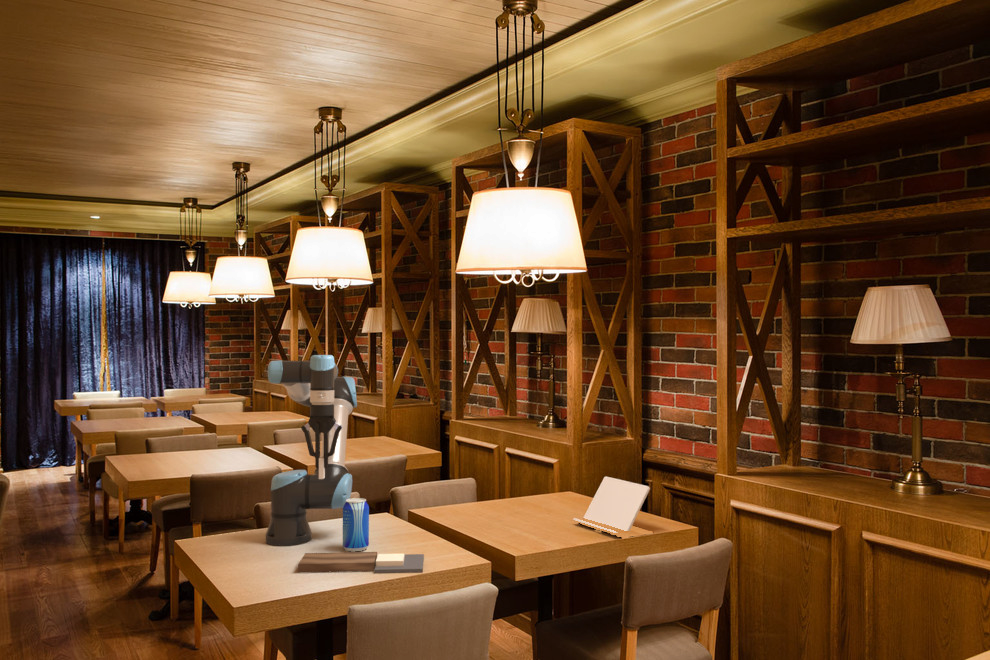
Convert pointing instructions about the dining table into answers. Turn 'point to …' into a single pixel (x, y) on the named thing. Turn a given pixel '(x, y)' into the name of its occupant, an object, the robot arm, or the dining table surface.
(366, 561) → the serving board
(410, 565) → the mat
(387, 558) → the cream flat block
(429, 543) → the dining table surface
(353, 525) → the beer can
